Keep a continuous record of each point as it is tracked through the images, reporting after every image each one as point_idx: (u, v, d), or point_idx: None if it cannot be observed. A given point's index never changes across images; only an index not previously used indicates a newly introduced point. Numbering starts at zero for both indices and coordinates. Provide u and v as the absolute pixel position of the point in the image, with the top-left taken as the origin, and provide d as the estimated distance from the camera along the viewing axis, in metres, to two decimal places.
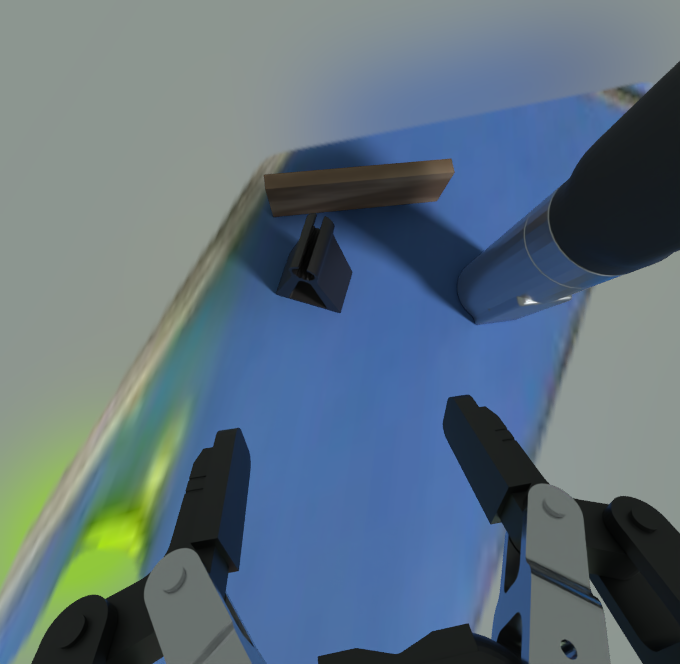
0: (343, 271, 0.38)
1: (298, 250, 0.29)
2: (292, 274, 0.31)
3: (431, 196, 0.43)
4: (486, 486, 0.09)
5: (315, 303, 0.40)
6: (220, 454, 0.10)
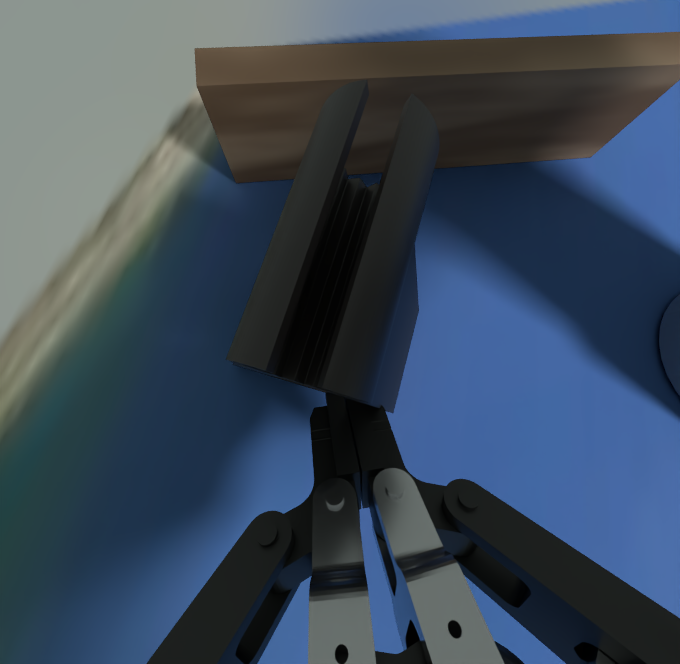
0: (409, 316, 0.14)
1: (272, 263, 0.05)
2: (252, 367, 0.07)
3: (589, 143, 0.19)
4: None
5: None
6: (336, 410, 0.11)
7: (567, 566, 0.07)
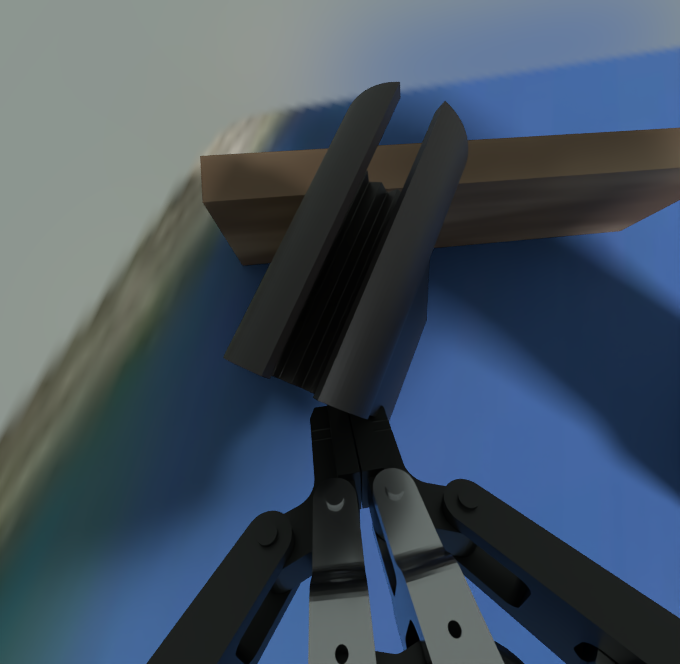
0: (416, 326, 0.14)
1: (280, 264, 0.05)
2: None
3: (621, 222, 0.18)
4: None
5: None
6: (336, 410, 0.11)
7: (567, 566, 0.07)
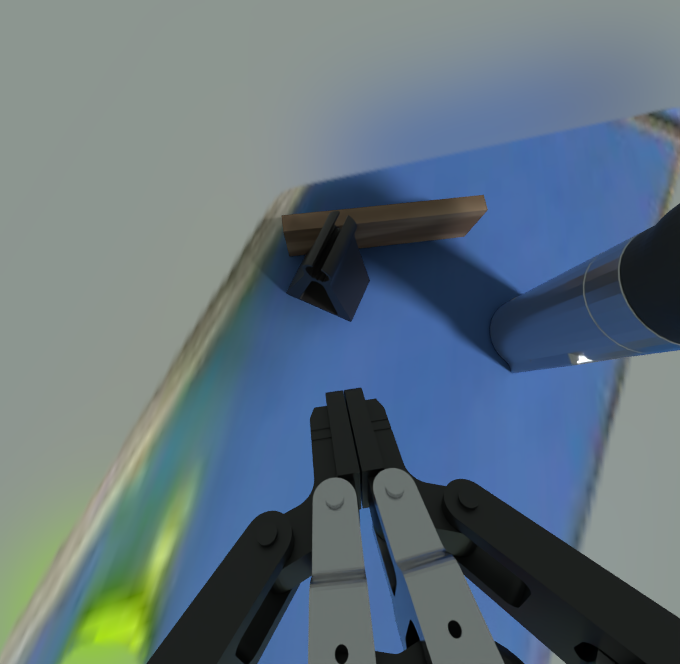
0: (360, 278, 0.35)
1: (314, 247, 0.27)
2: (305, 272, 0.28)
3: (459, 232, 0.40)
4: None
5: (326, 307, 0.37)
6: (336, 410, 0.11)
7: (567, 566, 0.07)
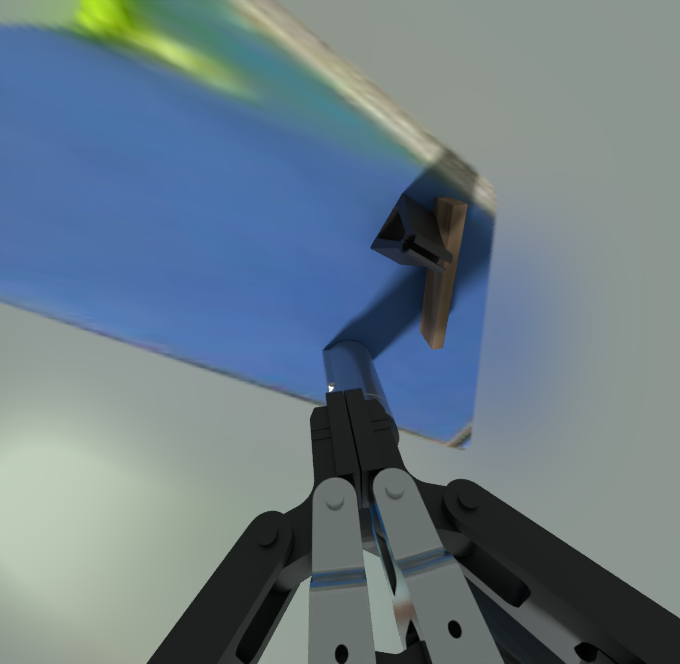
0: (402, 261, 0.46)
1: (428, 244, 0.36)
2: (411, 231, 0.37)
3: (422, 329, 0.56)
4: None
5: (384, 228, 0.46)
6: (336, 410, 0.11)
7: (567, 566, 0.07)
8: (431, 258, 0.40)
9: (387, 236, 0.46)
